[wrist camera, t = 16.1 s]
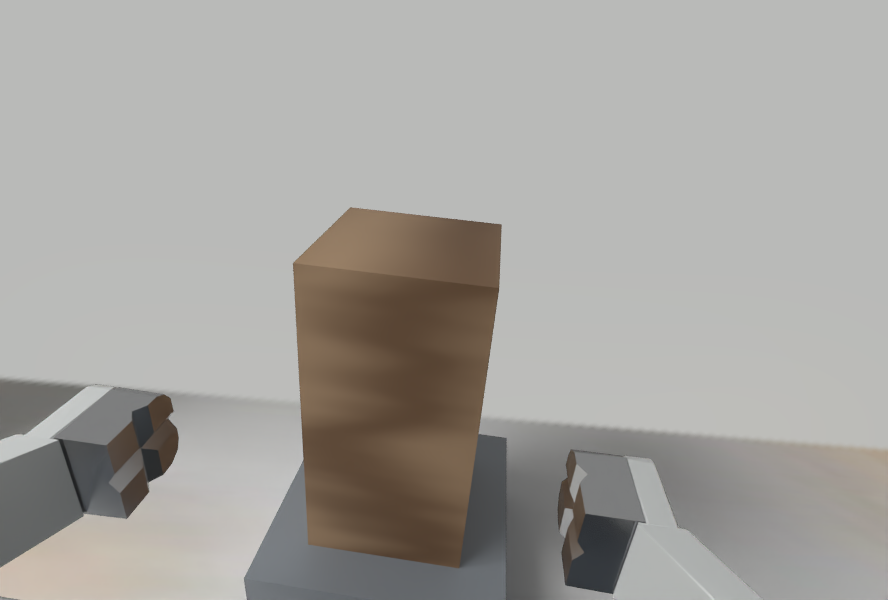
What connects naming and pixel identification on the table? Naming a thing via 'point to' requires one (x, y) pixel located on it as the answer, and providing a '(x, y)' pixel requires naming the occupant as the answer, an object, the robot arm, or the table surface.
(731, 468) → the table surface
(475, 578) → the base brick
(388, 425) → the walnut brick
